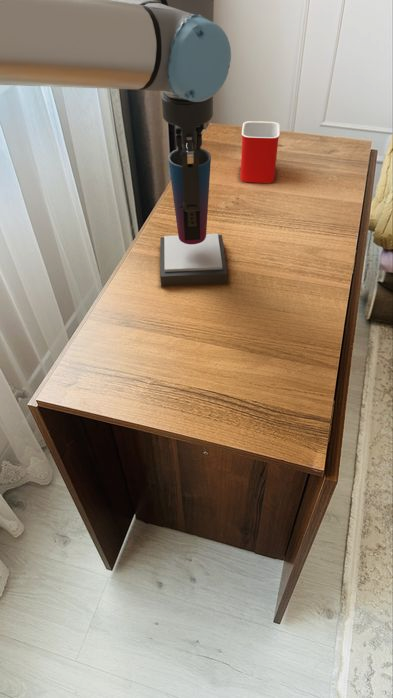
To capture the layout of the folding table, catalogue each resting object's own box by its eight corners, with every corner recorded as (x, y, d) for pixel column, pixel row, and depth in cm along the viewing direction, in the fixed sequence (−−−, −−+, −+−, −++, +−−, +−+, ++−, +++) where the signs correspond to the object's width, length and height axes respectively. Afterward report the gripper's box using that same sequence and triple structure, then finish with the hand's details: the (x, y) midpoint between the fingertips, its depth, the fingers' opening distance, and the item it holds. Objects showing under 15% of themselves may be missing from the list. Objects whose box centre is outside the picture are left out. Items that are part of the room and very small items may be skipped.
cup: (218, 232, 91) (219, 152, 80) (198, 251, 87) (196, 171, 76) (186, 221, 93) (183, 143, 82) (166, 240, 89) (159, 160, 78)
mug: (274, 184, 114) (279, 138, 106) (238, 182, 115) (240, 137, 107) (275, 159, 122) (280, 115, 114) (242, 158, 123) (244, 114, 115)
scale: (161, 286, 90) (160, 273, 88) (161, 247, 99) (160, 234, 96) (227, 283, 91) (227, 270, 88) (221, 244, 99) (221, 232, 97)
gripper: (218, 116, 65) (216, 259, 82) (208, 66, 78) (209, 198, 95) (160, 119, 65) (171, 261, 82) (161, 67, 78) (170, 200, 95)
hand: (191, 227), depth 89 cm, fingers closed on cup, 6 cm apart
